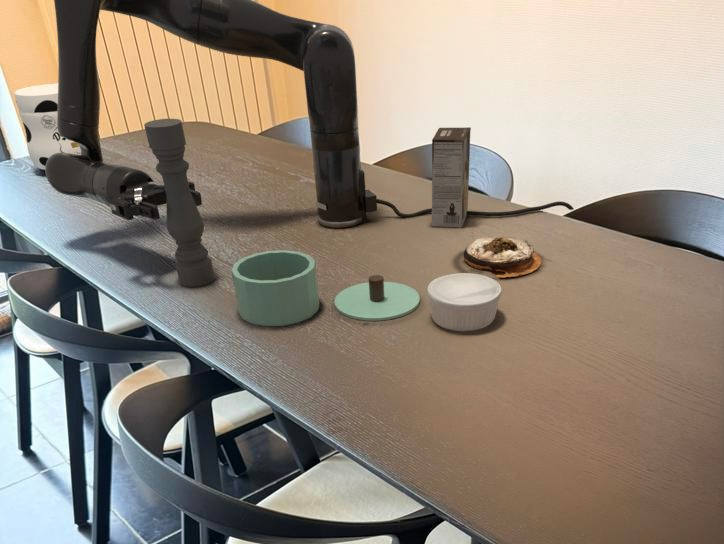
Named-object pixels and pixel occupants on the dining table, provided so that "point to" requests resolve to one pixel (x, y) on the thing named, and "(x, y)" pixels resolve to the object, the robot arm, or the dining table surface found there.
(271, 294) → the pot
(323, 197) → the robot arm
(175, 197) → the candle holder
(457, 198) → the coffee box
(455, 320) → the ramekin
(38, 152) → the doce de leite jar
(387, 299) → the pot lid
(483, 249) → the cream topped cake
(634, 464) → the dining table surface
